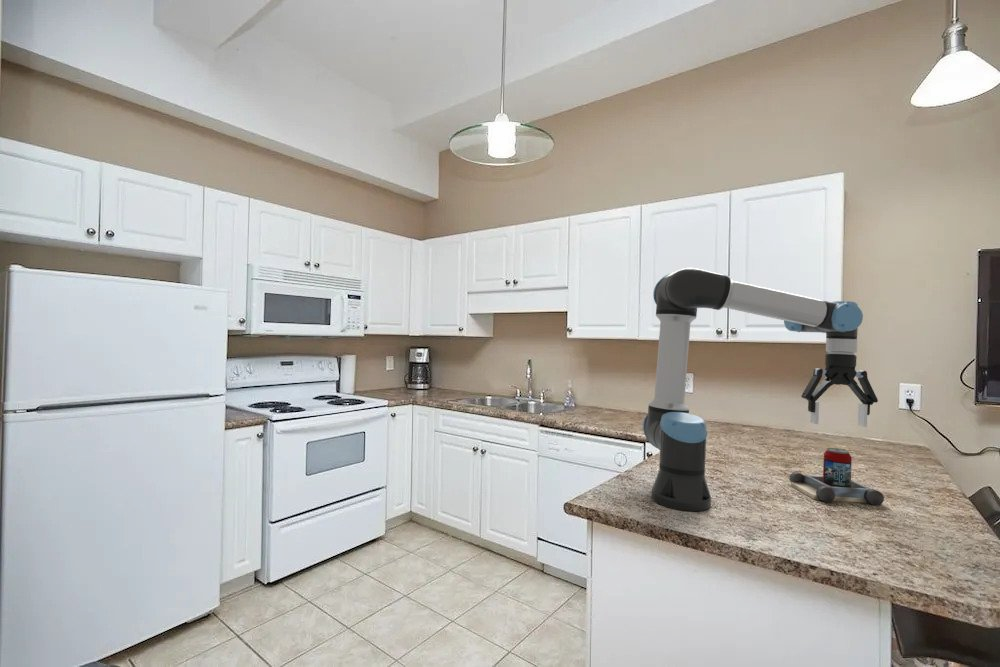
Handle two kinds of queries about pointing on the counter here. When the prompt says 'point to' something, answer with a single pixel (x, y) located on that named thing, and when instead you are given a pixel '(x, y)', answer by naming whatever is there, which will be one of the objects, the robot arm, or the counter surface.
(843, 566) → the counter surface
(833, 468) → the beverage can
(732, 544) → the counter surface
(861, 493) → the chassis
